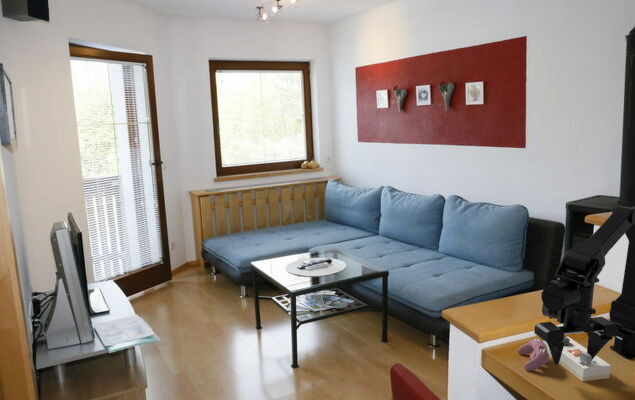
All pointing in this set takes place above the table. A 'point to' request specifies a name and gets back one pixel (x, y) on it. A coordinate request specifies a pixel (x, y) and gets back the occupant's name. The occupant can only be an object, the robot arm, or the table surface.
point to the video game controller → (535, 354)
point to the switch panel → (574, 365)
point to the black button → (566, 341)
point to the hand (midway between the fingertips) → (572, 362)
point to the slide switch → (585, 358)
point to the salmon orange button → (576, 353)
